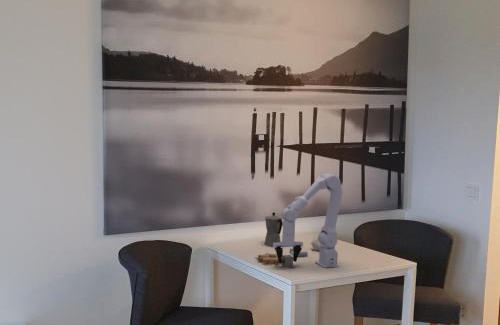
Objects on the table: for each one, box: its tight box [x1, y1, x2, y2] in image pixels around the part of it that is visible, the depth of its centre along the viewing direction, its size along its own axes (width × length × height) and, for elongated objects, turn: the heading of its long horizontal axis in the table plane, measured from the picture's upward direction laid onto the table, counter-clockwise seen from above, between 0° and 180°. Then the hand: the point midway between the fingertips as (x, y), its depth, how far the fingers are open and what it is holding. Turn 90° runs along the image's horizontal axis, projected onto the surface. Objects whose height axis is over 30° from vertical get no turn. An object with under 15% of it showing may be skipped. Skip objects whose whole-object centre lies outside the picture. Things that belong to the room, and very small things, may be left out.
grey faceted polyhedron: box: [310, 234, 320, 252], centre depth 303 cm, size 8×9×10 cm
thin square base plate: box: [254, 256, 282, 266], centre depth 278 cm, size 14×13×1 cm
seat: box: [289, 247, 309, 258], centre depth 292 cm, size 9×6×2 cm, turn 19°
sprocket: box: [257, 247, 284, 264], centre depth 278 cm, size 14×14×6 cm
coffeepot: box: [264, 212, 283, 248], centre depth 310 cm, size 15×9×18 cm, turn 29°
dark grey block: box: [281, 254, 294, 269], centre depth 269 cm, size 4×4×5 cm
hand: (287, 261), depth 269 cm, fingers open, 7 cm apart
